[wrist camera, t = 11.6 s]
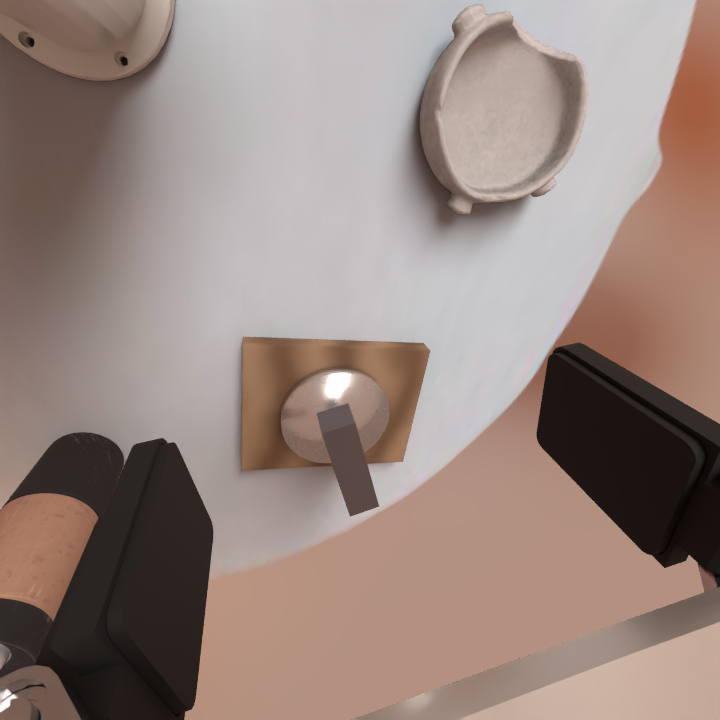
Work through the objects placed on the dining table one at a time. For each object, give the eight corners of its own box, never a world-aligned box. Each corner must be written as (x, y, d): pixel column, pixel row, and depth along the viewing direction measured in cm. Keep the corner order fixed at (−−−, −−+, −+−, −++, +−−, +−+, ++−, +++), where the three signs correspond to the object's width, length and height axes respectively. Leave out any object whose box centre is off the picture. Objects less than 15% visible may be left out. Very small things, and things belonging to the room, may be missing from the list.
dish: (420, 15, 31) (447, -8, 26) (570, 32, 34) (616, 15, 29) (405, 209, 37) (425, 217, 33) (531, 209, 40) (563, 216, 36)
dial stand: (242, 460, 46) (241, 473, 44) (243, 336, 39) (242, 346, 37) (397, 453, 52) (402, 464, 50) (423, 343, 45) (430, 351, 43)
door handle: (265, 386, 40) (267, 446, 32) (374, 352, 41) (404, 401, 33) (303, 479, 47) (313, 548, 39) (396, 448, 48) (424, 508, 40)
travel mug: (126, 486, 44) (43, 696, 27) (46, 483, 42) (-100, 714, 25) (128, 432, 41) (36, 631, 24) (41, 427, 39) (-129, 644, 22)
